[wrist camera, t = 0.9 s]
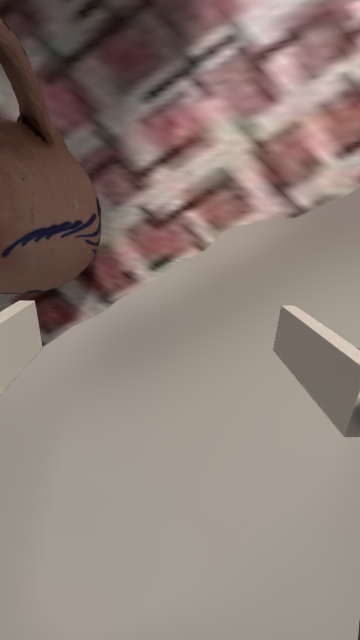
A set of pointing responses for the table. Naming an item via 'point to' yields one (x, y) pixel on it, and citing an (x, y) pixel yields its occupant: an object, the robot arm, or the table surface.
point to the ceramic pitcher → (40, 191)
